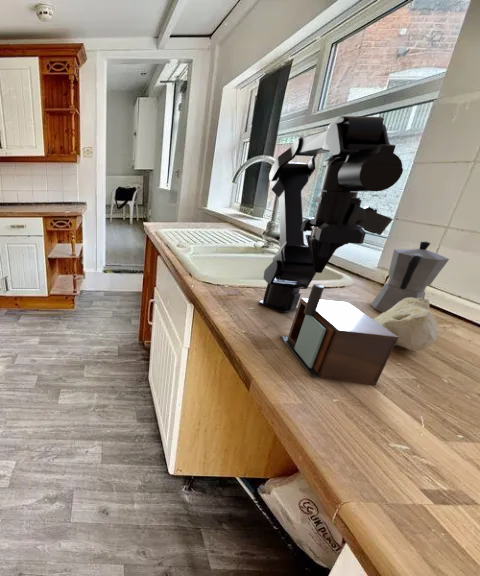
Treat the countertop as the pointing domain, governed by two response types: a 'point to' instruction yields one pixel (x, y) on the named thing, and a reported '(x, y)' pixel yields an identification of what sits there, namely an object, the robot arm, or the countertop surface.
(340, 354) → the cabinet
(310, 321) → the cleaver
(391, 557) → the countertop surface
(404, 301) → the beige rock
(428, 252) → the coffeepot
